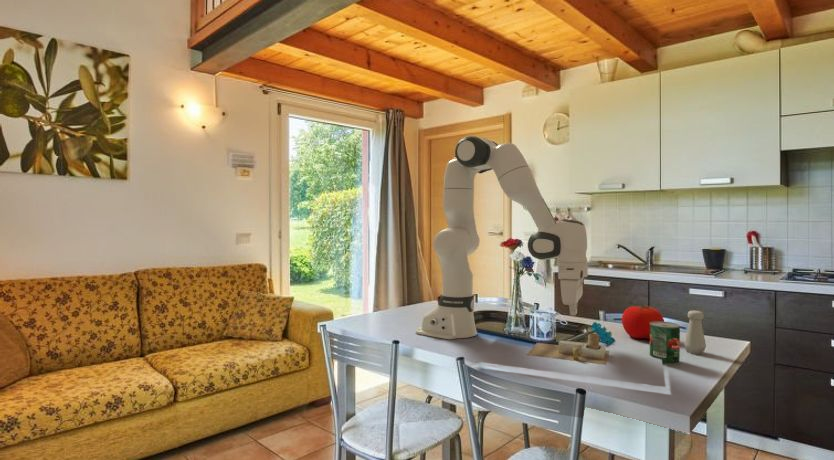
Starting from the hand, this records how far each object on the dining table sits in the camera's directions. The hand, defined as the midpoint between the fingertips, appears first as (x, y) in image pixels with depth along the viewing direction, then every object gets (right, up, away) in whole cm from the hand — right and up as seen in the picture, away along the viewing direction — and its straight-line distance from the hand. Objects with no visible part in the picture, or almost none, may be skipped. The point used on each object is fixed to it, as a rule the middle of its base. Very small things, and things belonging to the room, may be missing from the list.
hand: (573, 314), depth 148 cm
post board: (-3, -12, -6) cm, 14 cm away
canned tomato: (+24, -12, -9) cm, 28 cm away
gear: (+13, -12, +7) cm, 19 cm away
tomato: (+30, -12, +17) cm, 37 cm away
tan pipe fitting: (0, -11, -7) cm, 13 cm away
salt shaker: (+38, -12, -1) cm, 40 cm away
